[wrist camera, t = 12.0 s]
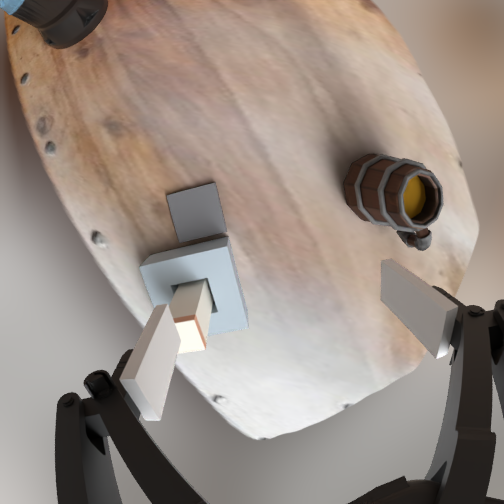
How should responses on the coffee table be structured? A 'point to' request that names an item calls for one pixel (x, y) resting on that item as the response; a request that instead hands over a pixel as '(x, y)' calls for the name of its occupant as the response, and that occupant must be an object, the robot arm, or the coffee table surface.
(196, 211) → the mat
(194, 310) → the peg
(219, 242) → the socket block
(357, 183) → the mug
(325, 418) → the coffee table surface
